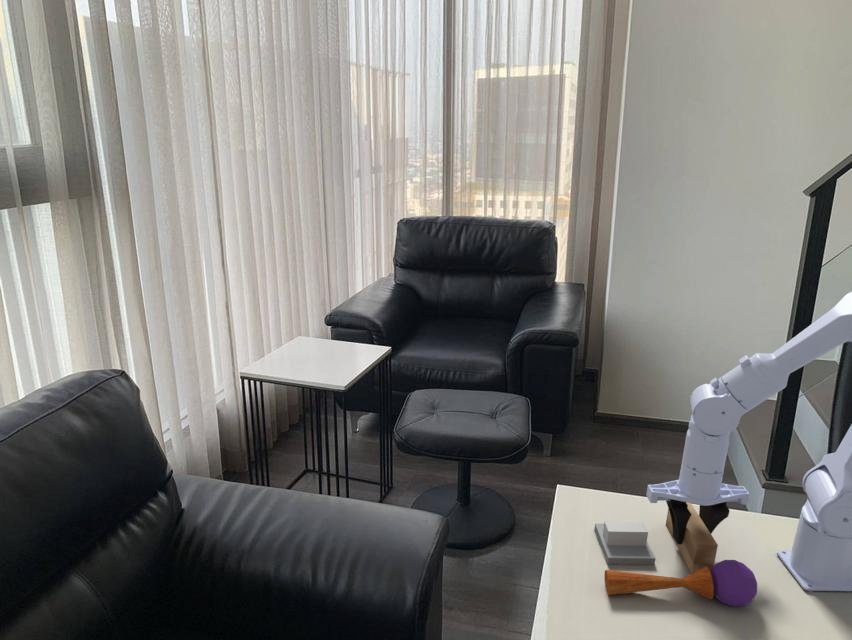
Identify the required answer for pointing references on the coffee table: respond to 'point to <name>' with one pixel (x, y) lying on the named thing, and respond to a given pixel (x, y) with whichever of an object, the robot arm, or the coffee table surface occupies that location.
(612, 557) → the balance stand
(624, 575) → the kendama
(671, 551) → the coffee table surface
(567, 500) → the coffee table surface
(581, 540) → the coffee table surface
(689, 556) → the oak bar
